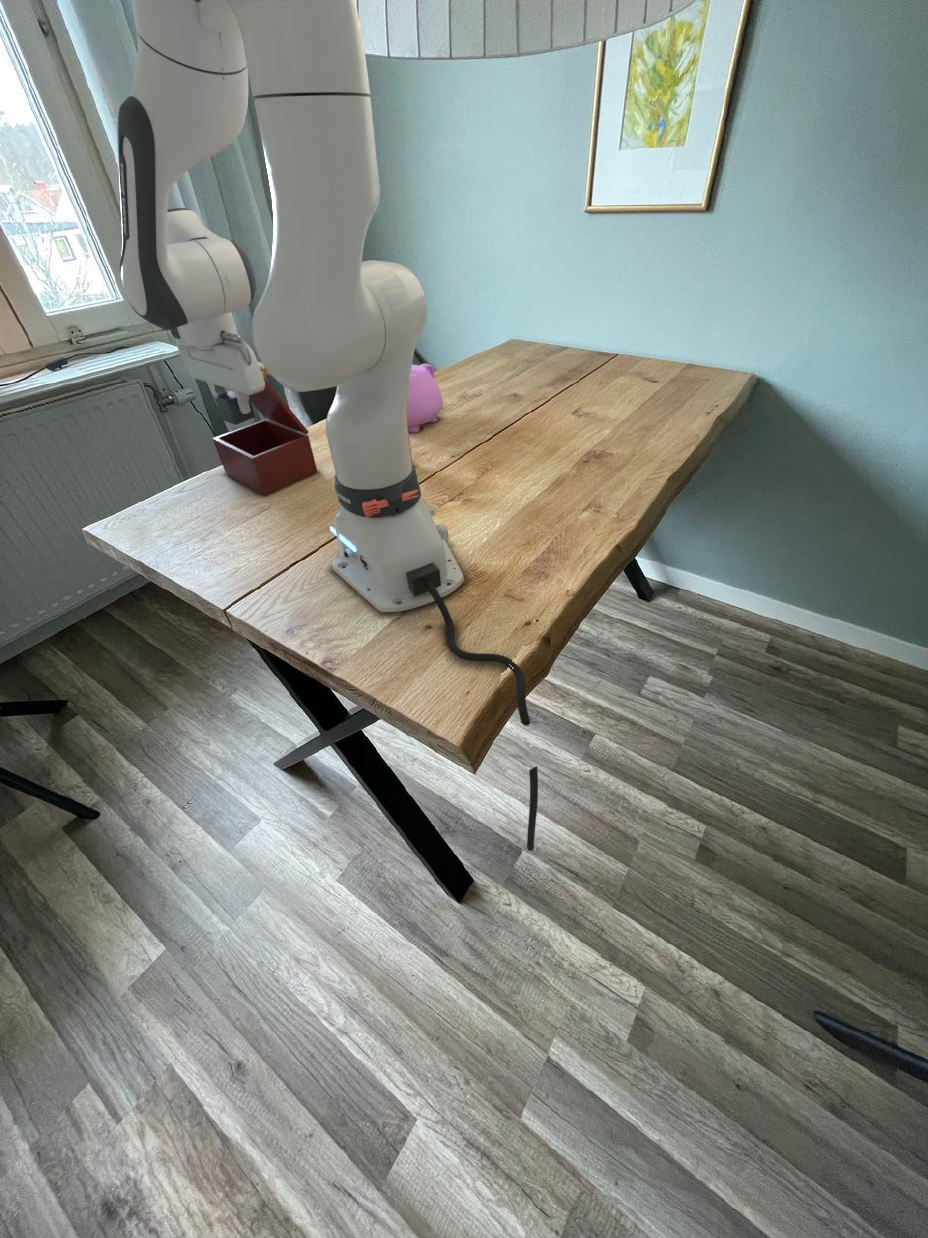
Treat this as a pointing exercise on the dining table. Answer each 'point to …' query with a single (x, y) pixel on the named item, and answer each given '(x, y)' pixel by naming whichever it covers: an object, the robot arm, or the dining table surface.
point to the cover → (275, 406)
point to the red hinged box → (266, 456)
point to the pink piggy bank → (422, 397)
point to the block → (232, 408)
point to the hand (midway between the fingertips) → (236, 409)
